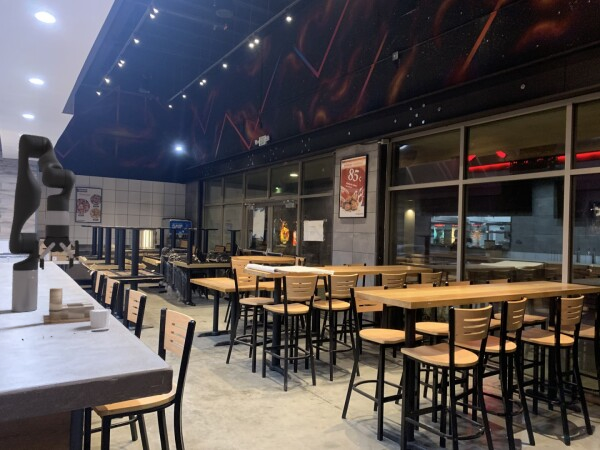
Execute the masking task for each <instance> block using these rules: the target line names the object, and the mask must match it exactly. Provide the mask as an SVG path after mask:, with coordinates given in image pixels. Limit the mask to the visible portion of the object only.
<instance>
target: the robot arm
mask: <svg viewBox="0 0 600 450" xmlns="http://www.w3.org/2000/svg"><path fill="white" fill-rule="evenodd" d="M17 156H18V157H17V174H16V175H17V176H16V185H15V190H14V198H13V199H14V201H13V214H12V216H13V217H12V224H11V229H10V234H9V239H8V240H9V241H8V250H9V252H10V253H11V254H13V255H28V256H27V257H26V258H25V259H23V260H20V261H17V262H15V263H13V265H12V283H11V284H12V285H11V287H12V289H11V312H16V313H17V312H18V313H19V312H20V313H21V312H25V313H26V312H31V311H32V312H33V311H37V310H38V294H39V293H38V292H39V291H38V290H39V285H38V284H39V268H40V269H41V270H42V271H43V270H44V271H45V257H46V256H47V255H48V254H49V252H50V253H63V252H65V254H66V255H67V256H68V257H69V258H68V269H70V270H71V269H72V268H73V267H74V259H75V258H77V257H80V241H79V240H77V239H76V240H70V223H71V222H70V221H71V220H70V213H69V212H70V198H71V194H72V191H73V188H74V186H75V183H76V175H75V173H74V171H72V170H70V169H64V167H63V165H62V164H61V163H60V160H59V159H58V158H57V155H56V151H55V149H54V146H53V143H52V141H51V139H50V138H48V137H47V136H44V135H43V136H42V135H41V136H40V135H34V134H27V133H22V134H21V135H20V137H19V139H18V155H17ZM29 158H30V159H38V161H37V165H38V168H39V170H40V172H41V183H42V185H43V186H45V187H46V188H52V189H61V192H60V193H57V194H56V193H55V194H50V195H48V196H47V199H46V214H45V222H44V223H45V224H44V225H45V227H44V228H45V231H44V232H45V233H44V240H41V238H40V234H39V233H37V232H22V230H23V228H24V225H25V224H26V223H27V221H28V220H29V219H30V218H31V217H32V216H33V214H35V213H36V211H38V209H39V207H40V206H41V202H42V201H41V200H42V192H43V191H42V187H41V185H40V183H39V182H38V180H37V178H36V177H35V176H34V174H33V172H32V170H31V167H30V163H29V161H30V160H29ZM42 245H44V246H45V247H46V248H45V249H44V250H43V252H42V253H41V254H40V247H42ZM70 245H72V246H73V247H74V253H72V252H71V251H70V250H69V249H68V247H69V246H70Z"/></svg>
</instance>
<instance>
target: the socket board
mask: <svg viewBox="0 0 600 450" xmlns="http://www.w3.org/2000/svg"><path fill="white" fill-rule="evenodd" d="M94 309H95V305H93V302H91V301H85V302H71V303H70V302H68V303H62V318H61V320H60V322H59V323H50V319H49V314H43V316H42V319H43V325H44V326H53V325H62V324H63V325H65V324H75V323H76V324H77V323H85V322H86V323H87V322H90V310H94Z"/></svg>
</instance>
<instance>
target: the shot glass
mask: <svg viewBox="0 0 600 450" xmlns="http://www.w3.org/2000/svg"><path fill="white" fill-rule="evenodd" d="M111 313H112V310H111V309H110V308H94V310H90V321H89V322H90V328H92V330H90V332H91V333H103V332H108V331H109V330H110V329H109V328H108V327H109V326H110V324H111V323H110V321H111ZM100 328H101V329H100ZM93 329H95V330H93Z"/></svg>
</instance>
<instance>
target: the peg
mask: <svg viewBox="0 0 600 450" xmlns="http://www.w3.org/2000/svg"><path fill="white" fill-rule="evenodd" d="M63 291H64V290H63V287H54V288H53V287H52V288H49V300H48V301H49V307H48V315H49V319H50V323H59V322H60V320H61V318H62V304H63Z"/></svg>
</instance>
